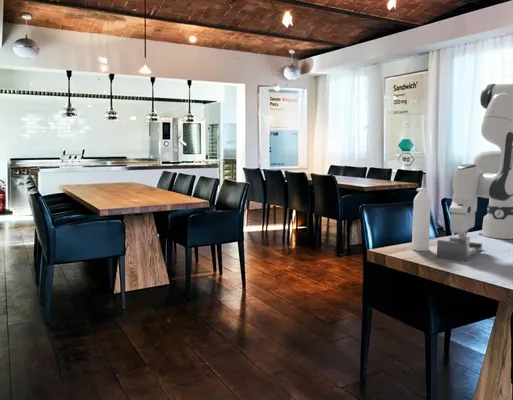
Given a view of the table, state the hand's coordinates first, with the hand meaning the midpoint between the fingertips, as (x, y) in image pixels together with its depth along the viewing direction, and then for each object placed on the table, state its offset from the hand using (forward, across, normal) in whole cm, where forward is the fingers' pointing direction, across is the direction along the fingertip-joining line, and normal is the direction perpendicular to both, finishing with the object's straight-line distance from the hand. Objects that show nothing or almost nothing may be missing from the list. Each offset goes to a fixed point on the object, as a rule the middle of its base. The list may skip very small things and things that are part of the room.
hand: (462, 241), depth 178 cm
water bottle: (+4, +8, -14) cm, 16 cm away
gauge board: (+4, +2, 0) cm, 5 cm away
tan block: (+3, +4, 0) cm, 5 cm away
